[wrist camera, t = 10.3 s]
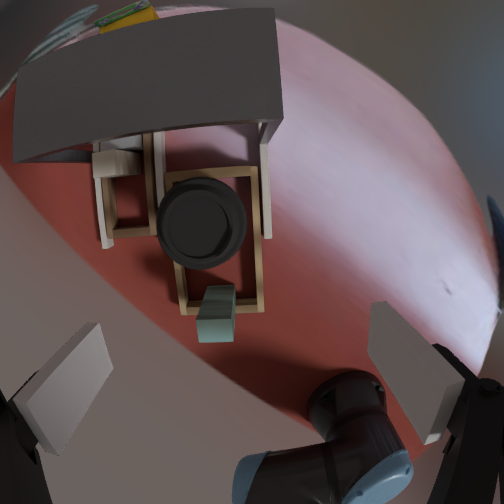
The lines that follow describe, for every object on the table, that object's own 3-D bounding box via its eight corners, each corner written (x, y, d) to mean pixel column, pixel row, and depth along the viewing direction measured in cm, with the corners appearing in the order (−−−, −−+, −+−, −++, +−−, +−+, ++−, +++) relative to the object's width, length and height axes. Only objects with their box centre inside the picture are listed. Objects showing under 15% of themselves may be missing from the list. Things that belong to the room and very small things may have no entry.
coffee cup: (171, 221, 41) (133, 245, 27) (202, 164, 39) (177, 158, 25) (226, 252, 43) (215, 293, 28) (259, 197, 41) (266, 209, 26)
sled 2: (263, 304, 44) (268, 343, 34) (184, 308, 44) (167, 346, 34) (256, 166, 40) (260, 163, 29) (169, 173, 40) (143, 173, 29)
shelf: (266, 145, 39) (283, 118, 20) (100, 163, 39) (12, 163, 20) (262, 77, 36) (274, 7, 18) (99, 100, 36) (18, 67, 18)
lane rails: (270, 235, 42) (272, 238, 40) (108, 245, 42) (102, 248, 40) (262, 74, 36) (263, 70, 34) (99, 97, 36) (93, 95, 34)
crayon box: (127, 66, 35) (93, 38, 24) (124, 51, 35) (92, 21, 23) (172, 49, 35) (150, 13, 24) (169, 34, 34) (147, -3, 23)
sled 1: (161, 231, 42) (140, 246, 33) (114, 235, 42) (86, 250, 33) (153, 94, 37) (131, 77, 28) (106, 104, 37) (77, 91, 28)
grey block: (146, 149, 39) (134, 146, 34) (115, 154, 39) (100, 152, 34) (145, 115, 38) (133, 109, 33) (114, 121, 38) (99, 116, 33)
